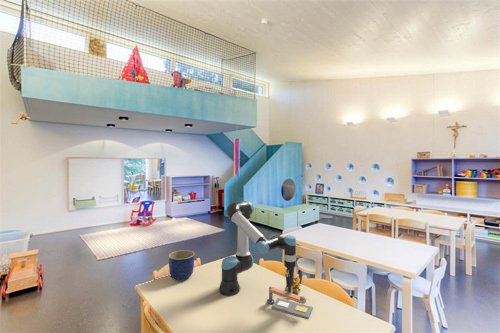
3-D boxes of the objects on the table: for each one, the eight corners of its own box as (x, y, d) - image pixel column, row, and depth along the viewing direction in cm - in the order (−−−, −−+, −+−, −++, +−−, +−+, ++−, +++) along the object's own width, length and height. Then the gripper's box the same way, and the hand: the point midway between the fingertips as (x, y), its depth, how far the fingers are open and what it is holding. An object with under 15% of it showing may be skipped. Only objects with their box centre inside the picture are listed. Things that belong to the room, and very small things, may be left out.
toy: (300, 294, 174) (290, 274, 177) (288, 298, 177) (278, 278, 180) (304, 286, 186) (294, 267, 189) (293, 290, 190) (284, 271, 193)
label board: (271, 308, 160) (271, 306, 160) (277, 299, 171) (277, 297, 171) (308, 318, 150) (308, 316, 150) (312, 308, 161) (312, 306, 161)
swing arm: (267, 300, 166) (267, 286, 166) (270, 298, 170) (270, 284, 169) (303, 314, 151) (303, 299, 151) (306, 311, 154) (306, 296, 154)
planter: (162, 279, 199) (162, 255, 199) (182, 270, 217) (182, 248, 216) (180, 286, 188) (180, 261, 188) (199, 275, 206) (199, 253, 206)
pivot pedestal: (265, 303, 166) (265, 301, 166) (268, 299, 171) (268, 298, 171) (272, 305, 164) (272, 303, 164) (275, 301, 168) (275, 299, 168)
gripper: (292, 264, 154) (292, 302, 155) (298, 257, 166) (298, 292, 166) (281, 262, 157) (281, 299, 158) (287, 255, 169) (287, 289, 169)
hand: (289, 295), depth 162 cm, fingers closed
